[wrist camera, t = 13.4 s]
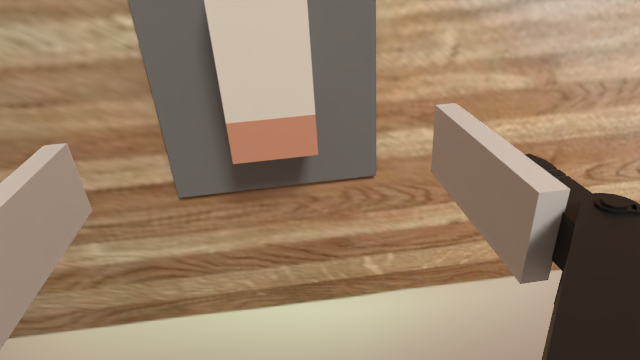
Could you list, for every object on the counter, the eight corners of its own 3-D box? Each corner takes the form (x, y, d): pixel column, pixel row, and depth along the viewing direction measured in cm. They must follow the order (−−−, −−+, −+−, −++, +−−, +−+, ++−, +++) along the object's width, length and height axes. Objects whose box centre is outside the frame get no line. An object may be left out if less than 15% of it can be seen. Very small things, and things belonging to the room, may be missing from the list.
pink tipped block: (208, -30, 28) (199, -27, 24) (298, -36, 29) (304, -35, 24) (236, 137, 34) (233, 164, 30) (311, 129, 34) (318, 154, 30)
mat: (179, 194, 36) (178, 197, 36) (101, -116, 26) (98, -117, 26) (374, 172, 38) (376, 175, 37) (373, -132, 27) (375, -133, 27)
